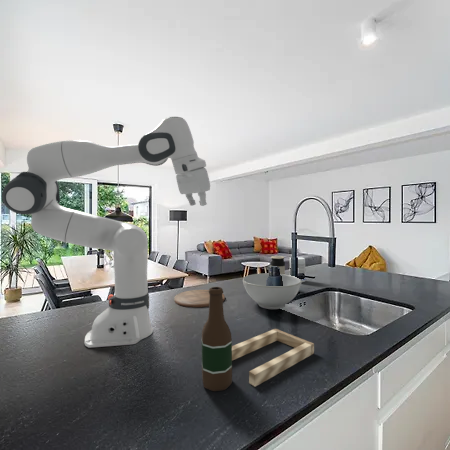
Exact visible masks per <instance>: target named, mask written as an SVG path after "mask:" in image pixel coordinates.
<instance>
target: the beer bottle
mask: <svg viewBox="0 0 450 450" xmlns="http://www.w3.org/2000/svg"><path fill="white" fill-rule="evenodd" d="M208 290H209V294H210V299H209V307H208V316H207V320H206V322H205V323H204V324H203V327H202V329H201V340H200V341H201V379H202V384H203V388H205V389H206V390H208V391H212V392H219V391H226V389H228V388H229V387H230V386H231V385H232V382H233V361H232V346H233V343H232V342H233V341H232V339H233V338H232V332H231V329H230V326H229V325H228V323H227V322H226V320H225V315H224V301H223V299H222V293H223V294H224V289H223V287H220V286H212V287H209V289H208Z"/></svg>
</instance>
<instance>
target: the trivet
mask: <svg viewBox="0 0 450 450" xmlns="http://www.w3.org/2000/svg"><path fill="white" fill-rule="evenodd" d="M173 299H174V303H175V304H176V305H178V306H180V307H186V308H195V309H196V308H209V299H210V294H209V289H193V290H186V291H182V292H179V293H177V294H176V295H175V296H174V298H173ZM222 299H223V302H224V301H225V299H226V298H225V294H224V292H223V293H222Z"/></svg>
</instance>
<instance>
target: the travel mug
mask: <svg viewBox="0 0 450 450" xmlns="http://www.w3.org/2000/svg"><path fill="white" fill-rule="evenodd" d="M270 258H271V261H270V267H271V266H277V267H279V268H280V274H285V275H286V262H285V261H284V260H285V256H282V255H273V256H270Z"/></svg>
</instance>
